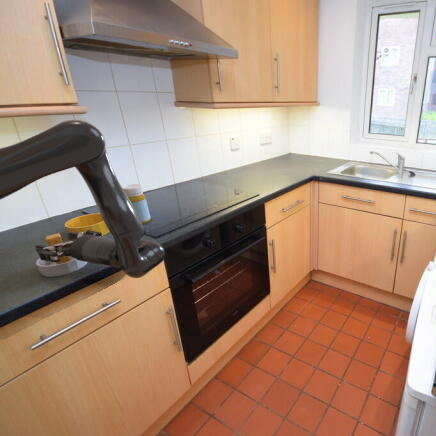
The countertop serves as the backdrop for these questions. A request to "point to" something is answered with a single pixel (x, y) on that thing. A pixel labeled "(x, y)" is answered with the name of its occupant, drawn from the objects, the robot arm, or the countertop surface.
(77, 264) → the gray bowl
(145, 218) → the bottle
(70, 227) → the yellow bowl
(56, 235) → the supplement box
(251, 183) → the countertop surface
